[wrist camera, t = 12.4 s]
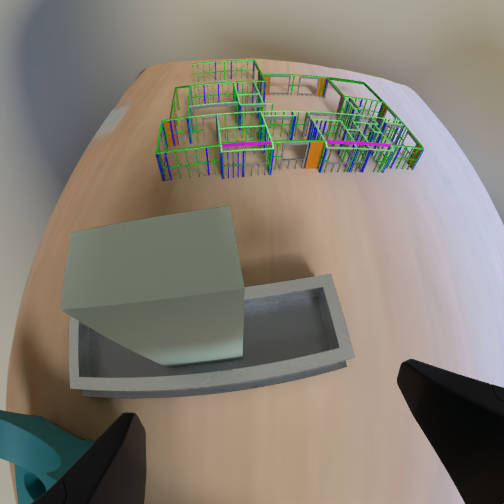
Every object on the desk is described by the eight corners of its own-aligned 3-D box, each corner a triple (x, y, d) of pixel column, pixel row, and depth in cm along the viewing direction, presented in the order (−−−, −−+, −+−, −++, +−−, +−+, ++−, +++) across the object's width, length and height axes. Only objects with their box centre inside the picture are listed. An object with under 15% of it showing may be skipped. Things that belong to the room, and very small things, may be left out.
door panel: (236, 321, 21) (229, 205, 9) (242, 357, 20) (244, 288, 8) (162, 330, 20) (71, 232, 8) (166, 366, 19) (60, 309, 7)
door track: (319, 283, 24) (329, 268, 22) (341, 368, 20) (356, 363, 18) (87, 313, 22) (71, 301, 19) (89, 396, 18) (70, 394, 15)
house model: (163, 188, 30) (154, 158, 26) (176, 86, 45) (174, 65, 41) (414, 175, 34) (427, 152, 30) (342, 84, 49) (346, 66, 45)
